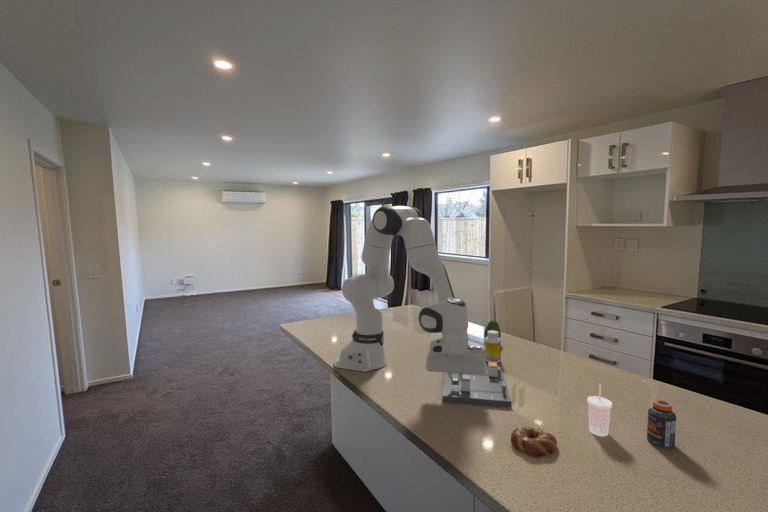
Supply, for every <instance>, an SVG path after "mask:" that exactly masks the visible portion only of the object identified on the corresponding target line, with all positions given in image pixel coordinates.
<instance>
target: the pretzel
mask: <svg viewBox="0 0 768 512" xmlns="http://www.w3.org/2000/svg"><path fill="white" fill-rule="evenodd" d="M510 443H511V444H512V446H513V448H514V449H516V450H517V451H519V452H522V453H525V454H526V455H527V456H529V457H532V458H541V457H543V456H548V455H549V454H551V455H552V454H554V453H555V451H556V447H557V444H558V441H557V438H556V437H555V436H554V435H553V434H552V433H550V432H545V431H543V430H542V429H540V428H534V427H531V426H523V427H517V428H515V429H513V431H512V432H511V436H510Z"/></svg>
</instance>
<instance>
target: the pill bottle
mask: <svg viewBox="0 0 768 512" xmlns="http://www.w3.org/2000/svg"><path fill="white" fill-rule="evenodd" d="M676 428H677V415H676V413H675V412H674V411H673V404H672V403H671V402H669V401H667V400H663V399H654V400H653V401H652V406H650V407H649V408H648V411H647V429H646V440H647V441H648V443H649V444H651V445H652V446H654V447H656V448H659V449H663V450H672V449H674V448H675V446H676Z"/></svg>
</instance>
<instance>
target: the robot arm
mask: <svg viewBox="0 0 768 512" xmlns="http://www.w3.org/2000/svg"><path fill="white" fill-rule="evenodd" d="M367 227H368V228H367V230H366V233H365V237H364V242H363V248H362V252H361V253H362V254H361V261H362V262H363V264H364V265H365V266H366V267H367V272H366V273H365V274H359V275H353V276H351V277H348V278H346V279H345V280H344V281H343V283H342V286H341V293H342V296H343V298H344V299H345V300H346V301H347V302H349V303H350V304H351V306H352V308H353V310H354V314H355V318H356V319H355V320H356V328H355V329H354V330H353V332H352V334H351V338H352V339H351V340H350V341H348V343H346V344H345V345H344V346H342V349H340V353H339V356H338V357H337V358H336V359H335V360H334V364H333V365H334V367H335V368H339V369H344V370H350V371H357V372H364V373H366V372H367V373H368V372H370V371H373V370H377V369H382V368H383V367H385V366H386V365H387V363H388V362H387V358H386V355H385V350H384V349H385V348H384V343H385V335H384V330H383V313H382V312H381V311H380V310H379V309H378V308H376V307H375V305H374V300H375V299H380V298H384V297H386V296H388V295H390V294H391V293H392V292H393V291H394V288H395V281H394V279H393V276H392V275H391V274H390V272H389V269H388V268H389V266H388V264H389V258H390V254H391V253H390V252H391V247H392V244H393V239H394V236H400V237H402V238H403V242H404V247H405V252H406V256H407V257H406V258H407V261H408V263H409V265H410V267H411V268H412V269H413V270H415V271H416V272H418V273H421V274H424V275H426V276H427V277H428V278H429V279H430V280H431V282H432V283H433V287H434V289H435V293H436V296H437V300H438V302H437V303H435V304H430V305H428V306H425V307H422V309H420V310H419V314H418V323H419V326H420V328H421V329H422V330H423V331H424V332H426V333H429V334H430V333H431V334H439V333H440V334H441V337H442V338H439V339H438V338H437V339H435V340H431V342H430V343H429V350H428V351H427V352H428V353H427V355H426V359H425V360H426V362H425V369H426V371H428V372H434V373H445V372H446V373H448V376H449V378H450V380H451V385H459V381H460V380H461V378H462V377H463V374H477V375H483V374H484V373H485V372H486V370H485V369H486V362H485V361H486V360H485V359H486V350H485V348H483V347H482V346H472V345H471V346H470V345H469V334H468V329H469V310H468V306H467V304H466V302H465V301H464V300H463V299H460V298H457V297H456V296H455V295H454V291H453V288H452V285H451V281H450V279H449V276H448V275H449V274H448V271H447V269H446V267H445V264H444V263H443V261H442V260H441V258H440V254H439V252H438V249H437V248H438V247H437V245H436V244H437V243H436V239H435V236H434V233H433V230H432V227H431V225H430V223H429V221H428V220H427V219H426V218H424V216H423V213H422V212H421V211H420V210H419V209H418V208H417V207H414V206H406V205H391V206H389V205H386V206H381V207H379V208H377V209H376V210H375V211H374V213H373V215H372V219H371V221H370V223H369V225H368V226H367ZM452 373H459V377H458V379H456V378H453V377H452Z"/></svg>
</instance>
